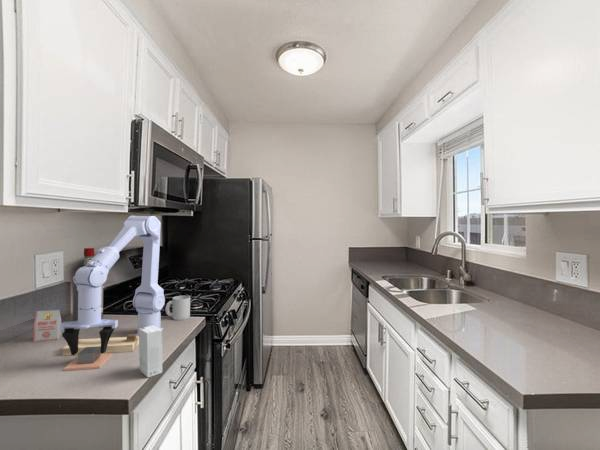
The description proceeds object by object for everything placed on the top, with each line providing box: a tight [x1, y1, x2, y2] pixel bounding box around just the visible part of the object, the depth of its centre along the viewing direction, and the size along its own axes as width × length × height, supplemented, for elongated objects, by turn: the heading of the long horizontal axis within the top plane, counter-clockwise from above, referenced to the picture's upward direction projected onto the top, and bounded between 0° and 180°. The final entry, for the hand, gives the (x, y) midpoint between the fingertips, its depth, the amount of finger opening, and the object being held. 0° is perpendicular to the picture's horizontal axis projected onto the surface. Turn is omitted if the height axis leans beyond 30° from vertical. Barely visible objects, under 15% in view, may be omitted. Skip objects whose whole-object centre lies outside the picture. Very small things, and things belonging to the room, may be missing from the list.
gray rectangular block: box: [77, 346, 101, 364], centre depth 92 cm, size 5×4×3 cm
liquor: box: [72, 247, 104, 321], centre depth 130 cm, size 9×9×30 cm
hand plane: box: [61, 333, 139, 356], centre depth 101 cm, size 8×20×4 cm, turn 102°
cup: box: [165, 295, 191, 321], centre depth 134 cm, size 7×10×9 cm
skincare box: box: [138, 325, 163, 378], centre depth 87 cm, size 6×4×12 cm
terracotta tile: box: [63, 353, 113, 372], centre depth 92 cm, size 9×9×1 cm
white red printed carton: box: [32, 309, 62, 342], centre depth 108 cm, size 4×7×10 cm, turn 111°
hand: (89, 352), depth 92 cm, fingers open, 7 cm apart
